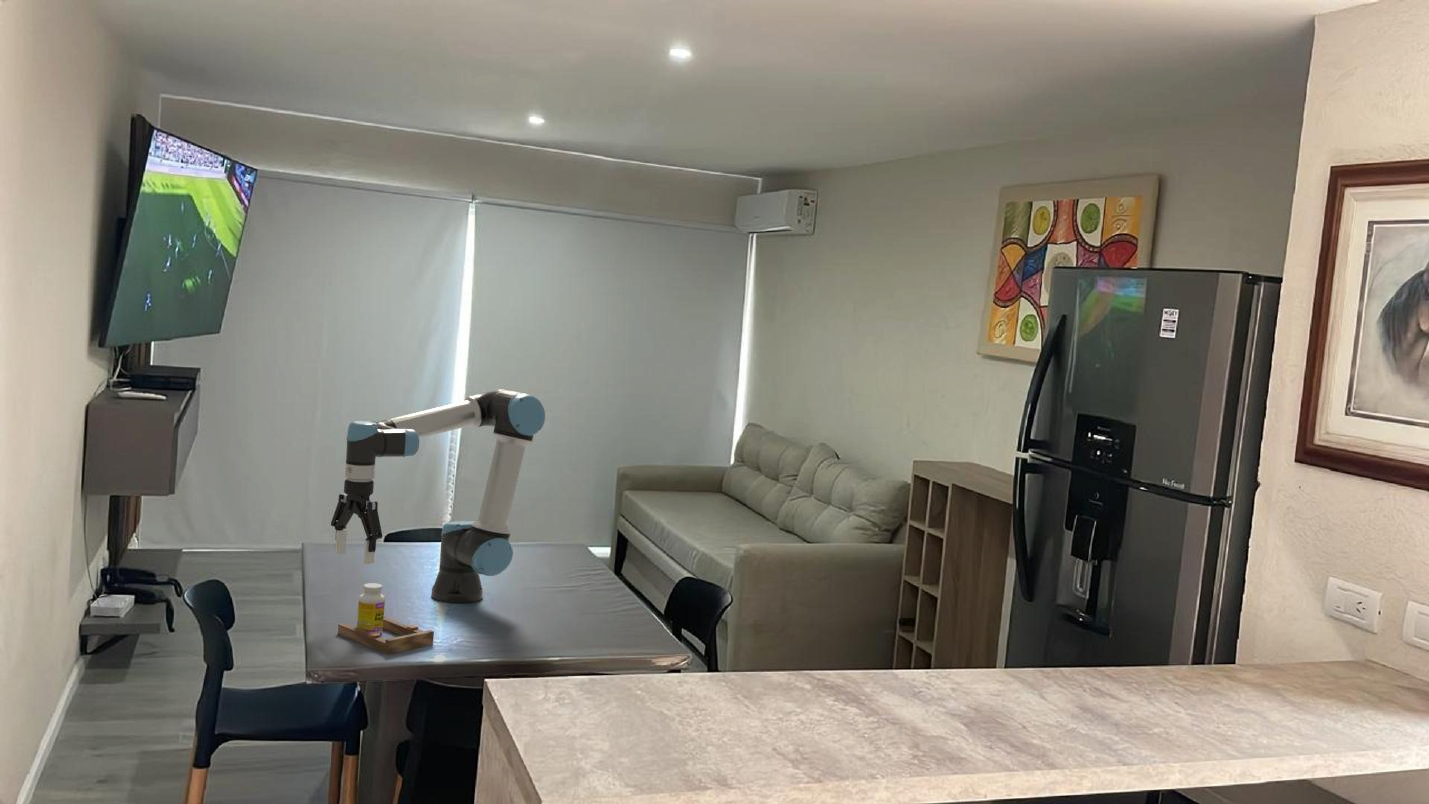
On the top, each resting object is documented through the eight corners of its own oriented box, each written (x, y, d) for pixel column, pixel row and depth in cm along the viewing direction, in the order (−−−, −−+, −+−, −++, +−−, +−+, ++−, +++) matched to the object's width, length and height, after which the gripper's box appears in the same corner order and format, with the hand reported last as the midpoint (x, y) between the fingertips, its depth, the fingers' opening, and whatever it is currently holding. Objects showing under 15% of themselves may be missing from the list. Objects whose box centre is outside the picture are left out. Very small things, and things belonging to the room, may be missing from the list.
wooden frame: (382, 624, 310) (383, 612, 310) (433, 644, 297) (434, 631, 297) (337, 633, 298) (338, 620, 298) (387, 654, 286) (388, 641, 285)
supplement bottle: (374, 637, 298) (378, 590, 297) (351, 634, 299) (354, 586, 298) (387, 631, 304) (390, 584, 303) (364, 627, 306) (367, 580, 305)
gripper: (320, 473, 308) (315, 551, 310) (375, 488, 293) (370, 569, 295) (344, 471, 314) (339, 547, 316) (399, 485, 299) (394, 566, 301)
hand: (354, 558), depth 305 cm, fingers open, 12 cm apart
